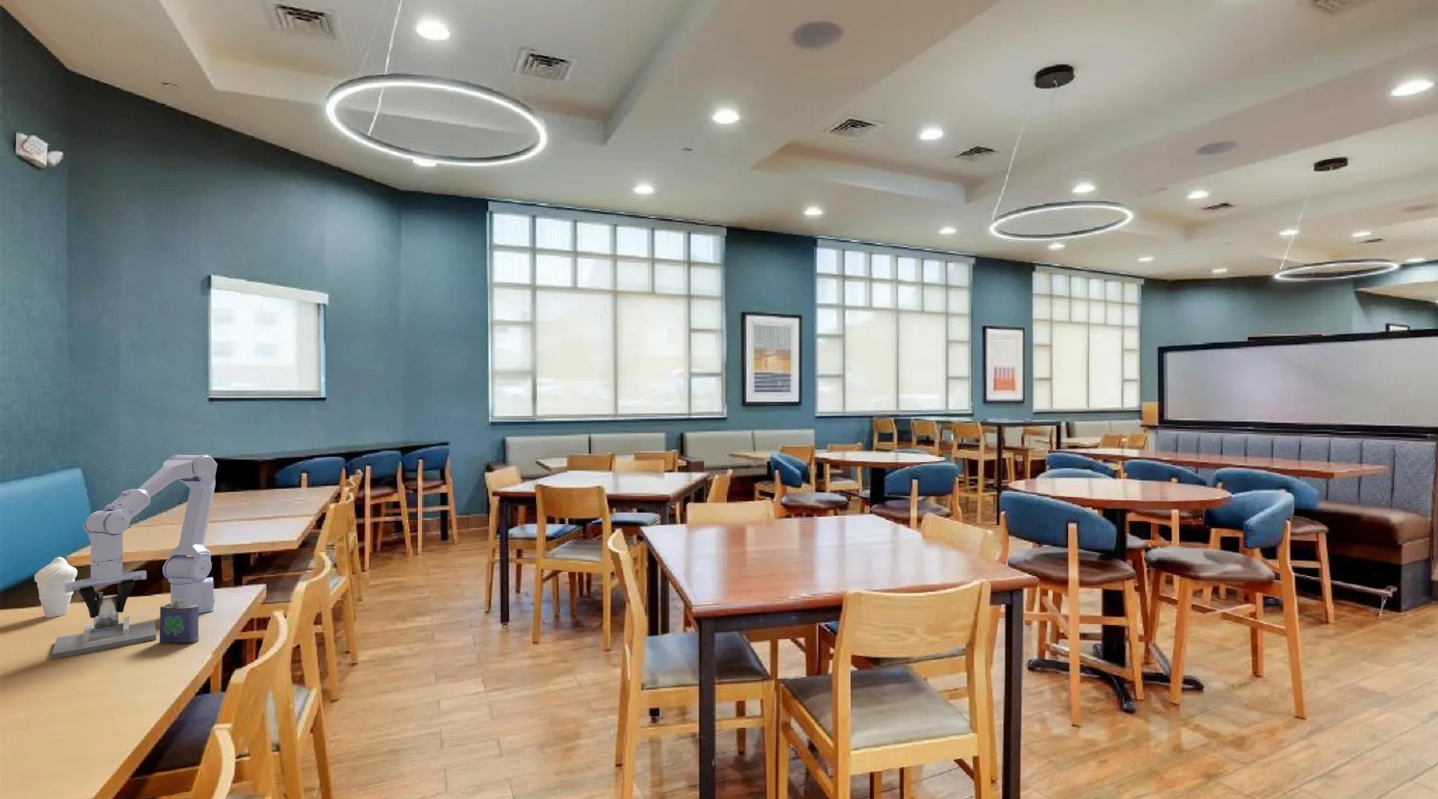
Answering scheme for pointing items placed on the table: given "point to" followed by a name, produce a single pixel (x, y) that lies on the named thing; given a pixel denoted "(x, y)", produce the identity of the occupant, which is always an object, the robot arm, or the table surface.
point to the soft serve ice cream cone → (55, 587)
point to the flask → (179, 623)
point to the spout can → (106, 611)
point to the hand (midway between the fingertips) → (106, 614)
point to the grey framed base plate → (104, 638)
